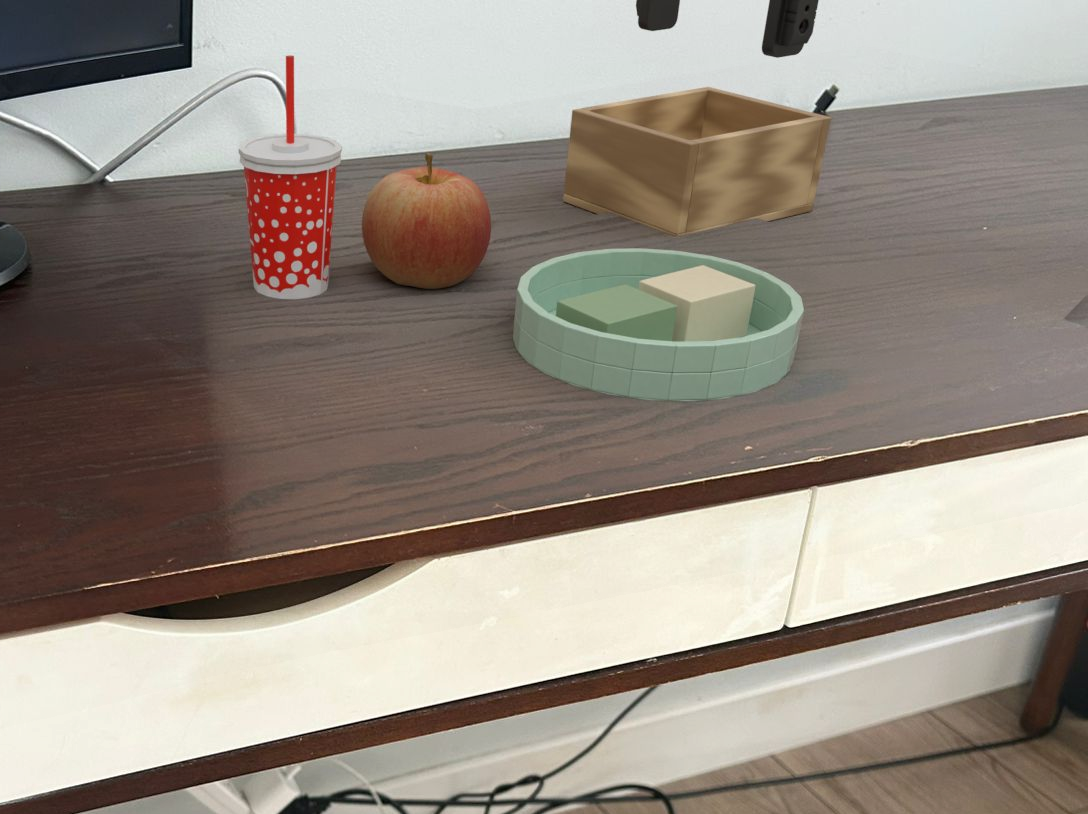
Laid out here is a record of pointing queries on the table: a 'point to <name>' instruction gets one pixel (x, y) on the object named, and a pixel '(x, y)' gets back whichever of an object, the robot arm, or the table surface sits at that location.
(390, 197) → the apple
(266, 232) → the beverage cup
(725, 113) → the box
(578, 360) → the bowl
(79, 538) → the table surface
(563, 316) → the green rectangular block
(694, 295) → the beige block
